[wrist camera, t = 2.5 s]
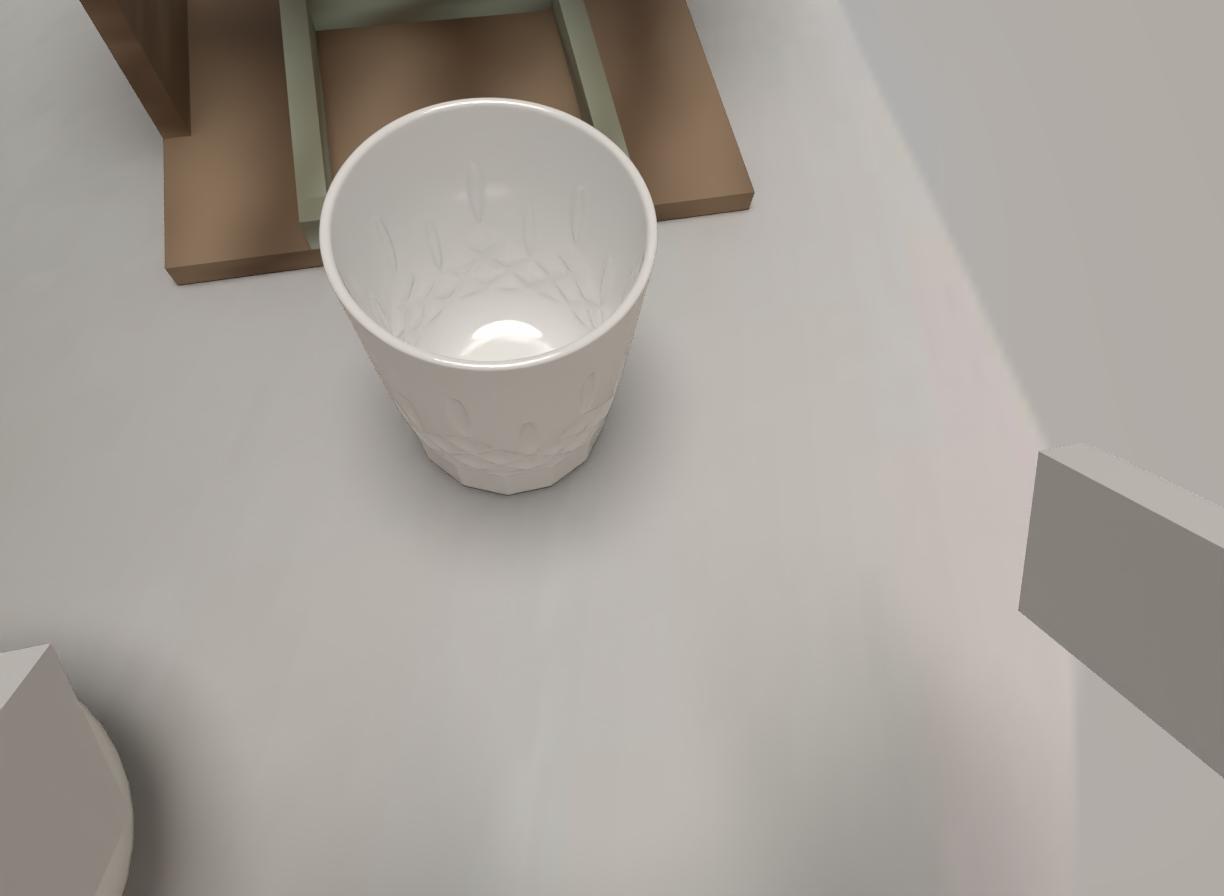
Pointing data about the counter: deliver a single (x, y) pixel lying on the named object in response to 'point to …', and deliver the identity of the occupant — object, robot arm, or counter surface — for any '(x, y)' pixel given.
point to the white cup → (493, 280)
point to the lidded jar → (121, 858)
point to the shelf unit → (395, 102)
